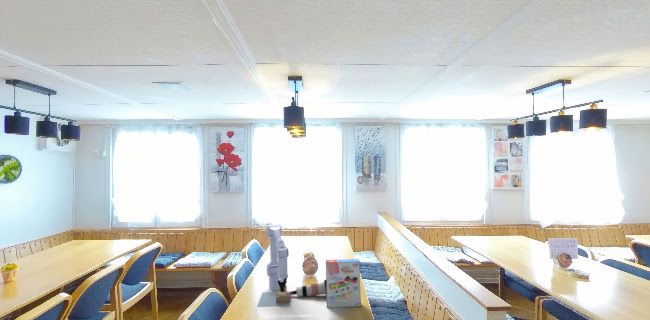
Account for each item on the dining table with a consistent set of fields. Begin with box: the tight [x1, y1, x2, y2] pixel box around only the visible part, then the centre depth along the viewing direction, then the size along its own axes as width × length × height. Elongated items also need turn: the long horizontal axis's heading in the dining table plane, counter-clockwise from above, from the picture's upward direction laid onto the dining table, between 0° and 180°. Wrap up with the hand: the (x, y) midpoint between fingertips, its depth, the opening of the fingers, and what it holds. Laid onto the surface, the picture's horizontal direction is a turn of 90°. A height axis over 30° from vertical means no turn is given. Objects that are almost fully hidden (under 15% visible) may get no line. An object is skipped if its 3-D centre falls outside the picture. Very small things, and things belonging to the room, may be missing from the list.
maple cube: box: [278, 285, 288, 296], centre depth 205 cm, size 4×4×4 cm
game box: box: [325, 258, 362, 308], centre depth 198 cm, size 21×6×27 cm, turn 92°
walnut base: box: [276, 291, 290, 304], centre depth 204 cm, size 8×8×4 cm
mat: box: [256, 291, 293, 308], centre depth 207 cm, size 22×20×1 cm
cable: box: [289, 279, 327, 298], centre depth 212 cm, size 10×34×10 cm, turn 95°
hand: (283, 289), depth 205 cm, fingers open, 7 cm apart
